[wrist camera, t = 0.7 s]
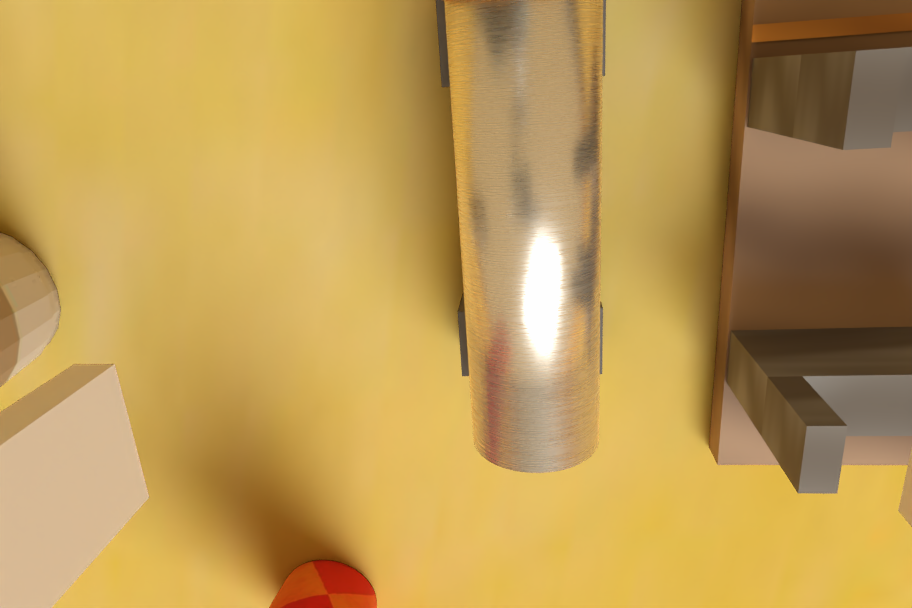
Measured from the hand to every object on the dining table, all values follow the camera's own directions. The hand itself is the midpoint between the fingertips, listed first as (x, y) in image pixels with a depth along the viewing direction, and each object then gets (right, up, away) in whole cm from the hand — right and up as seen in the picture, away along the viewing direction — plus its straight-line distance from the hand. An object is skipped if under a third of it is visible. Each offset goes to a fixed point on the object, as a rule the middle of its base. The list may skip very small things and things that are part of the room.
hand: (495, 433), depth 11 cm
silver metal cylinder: (+2, +6, +15) cm, 16 cm away
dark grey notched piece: (+15, +6, +16) cm, 23 cm away
